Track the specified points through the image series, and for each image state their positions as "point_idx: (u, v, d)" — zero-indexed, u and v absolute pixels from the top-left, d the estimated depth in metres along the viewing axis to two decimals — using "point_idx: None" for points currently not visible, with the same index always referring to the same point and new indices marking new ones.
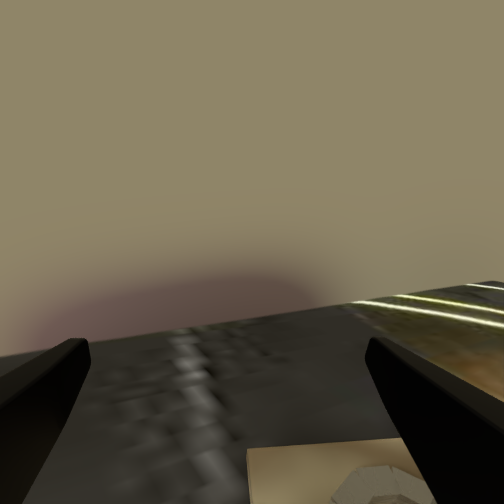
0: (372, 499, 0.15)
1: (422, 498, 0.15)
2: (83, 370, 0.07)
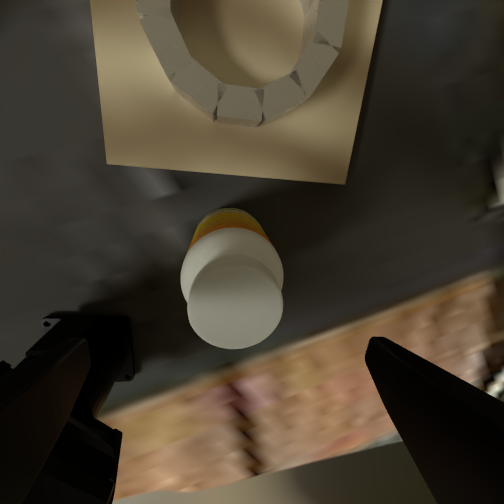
0: None
1: None
2: (83, 370, 0.07)
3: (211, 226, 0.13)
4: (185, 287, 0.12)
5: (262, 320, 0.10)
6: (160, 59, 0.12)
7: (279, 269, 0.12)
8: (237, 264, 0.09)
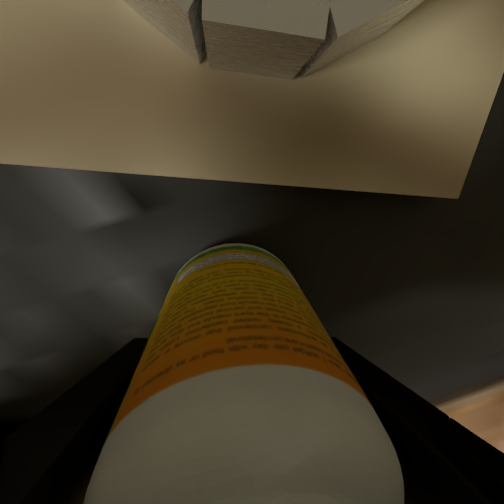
0: None
1: None
2: None
3: (188, 330, 0.05)
4: None
5: None
6: None
7: (402, 498, 0.04)
8: None
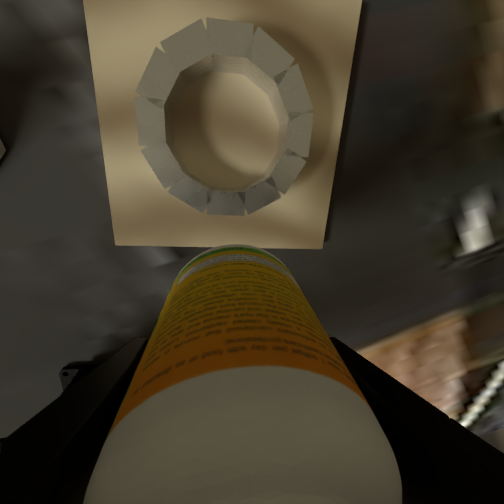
0: (213, 56, 0.13)
1: (271, 68, 0.13)
2: None
3: (188, 331, 0.05)
4: None
5: None
6: (158, 177, 0.14)
7: (400, 500, 0.04)
8: None
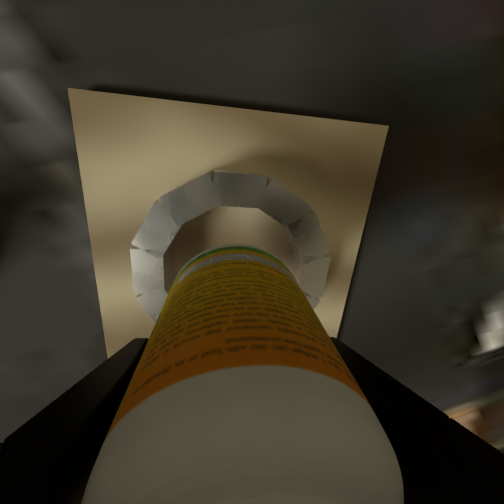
0: None
1: (285, 217, 0.12)
2: None
3: (187, 330, 0.05)
4: None
5: None
6: (155, 321, 0.13)
7: (402, 501, 0.04)
8: None
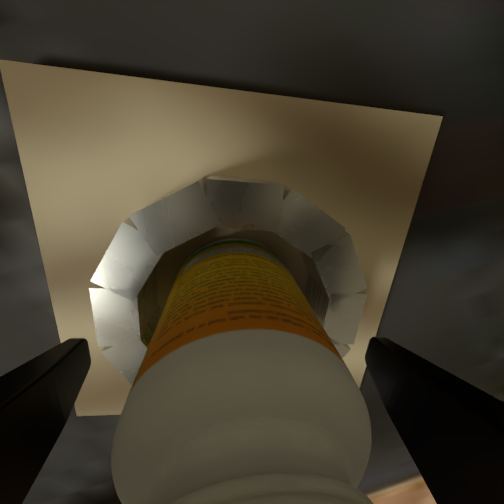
0: None
1: (308, 242, 0.08)
2: (83, 370, 0.07)
3: (195, 307, 0.06)
4: (120, 497, 0.04)
5: None
6: (130, 380, 0.10)
7: (369, 437, 0.05)
8: None
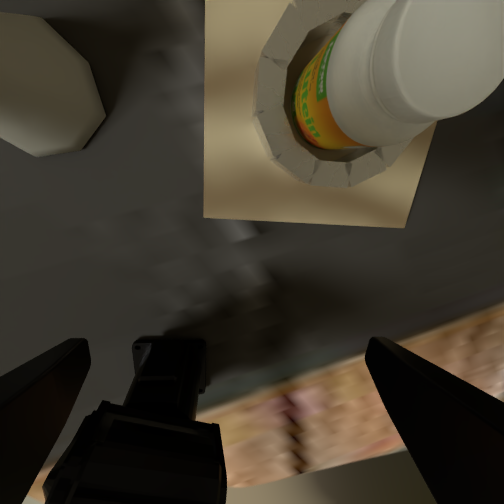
0: (342, 15, 0.13)
1: None
2: (83, 370, 0.07)
3: None
4: (345, 65, 0.09)
5: (489, 63, 0.07)
6: (270, 144, 0.14)
7: None
8: None
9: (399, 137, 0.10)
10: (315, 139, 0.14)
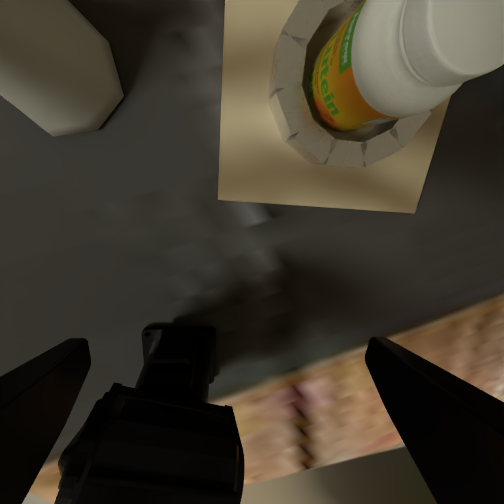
0: None
1: None
2: (83, 370, 0.07)
3: None
4: (373, 30, 0.09)
5: None
6: (288, 122, 0.14)
7: None
8: None
9: (422, 104, 0.10)
10: (332, 118, 0.14)
